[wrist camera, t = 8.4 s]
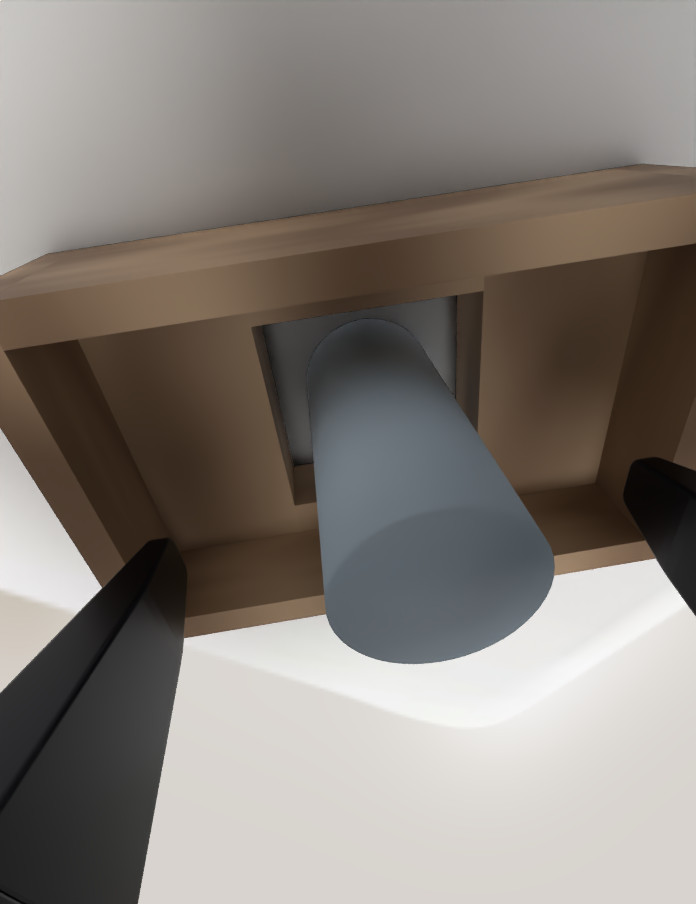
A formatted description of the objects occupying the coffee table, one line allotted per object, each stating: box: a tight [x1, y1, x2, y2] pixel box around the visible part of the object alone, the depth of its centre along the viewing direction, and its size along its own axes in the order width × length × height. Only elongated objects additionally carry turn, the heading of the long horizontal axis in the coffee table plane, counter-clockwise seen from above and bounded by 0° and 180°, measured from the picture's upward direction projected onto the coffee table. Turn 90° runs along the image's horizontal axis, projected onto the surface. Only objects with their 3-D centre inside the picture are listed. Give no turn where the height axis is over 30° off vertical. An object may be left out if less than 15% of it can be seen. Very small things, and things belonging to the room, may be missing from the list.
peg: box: [307, 319, 555, 664], centre depth 11 cm, size 4×4×8 cm
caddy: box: [0, 164, 696, 638], centre depth 12 cm, size 15×9×4 cm, turn 97°
